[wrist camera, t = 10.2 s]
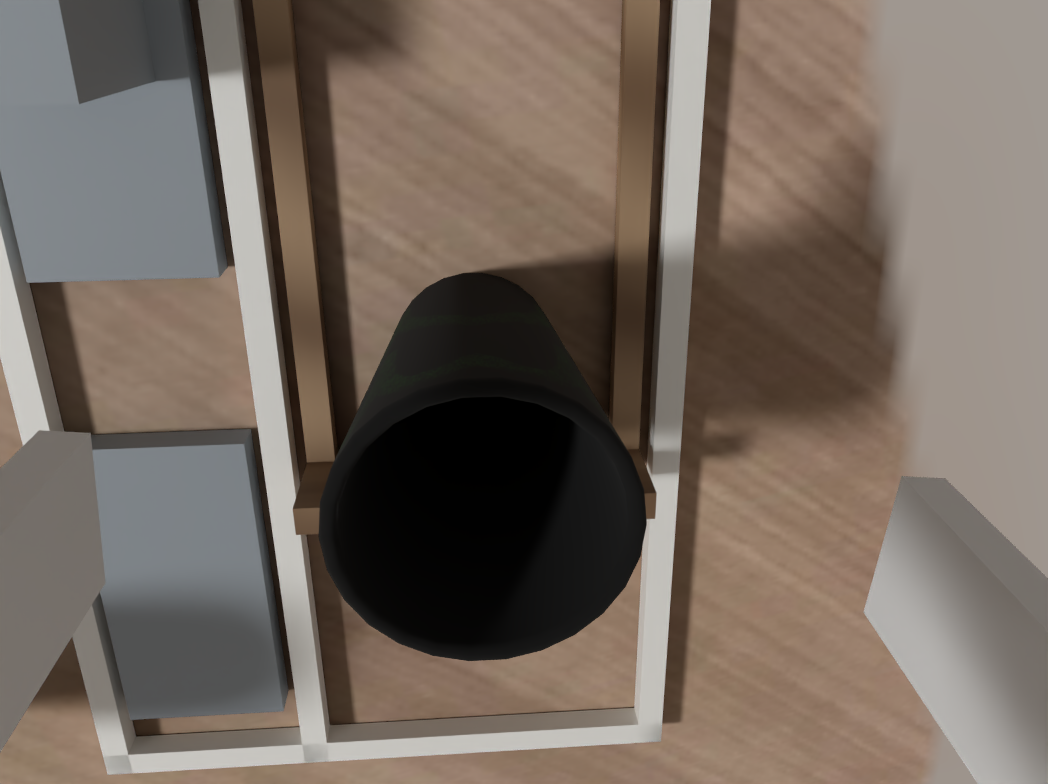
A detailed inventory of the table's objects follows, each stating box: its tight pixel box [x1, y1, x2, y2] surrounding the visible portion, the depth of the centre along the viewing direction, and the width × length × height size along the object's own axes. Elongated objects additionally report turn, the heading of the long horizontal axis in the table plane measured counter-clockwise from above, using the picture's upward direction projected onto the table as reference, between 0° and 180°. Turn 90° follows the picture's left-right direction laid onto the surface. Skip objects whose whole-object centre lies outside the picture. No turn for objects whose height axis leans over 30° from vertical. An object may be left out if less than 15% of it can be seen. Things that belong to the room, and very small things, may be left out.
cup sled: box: [252, 0, 660, 535], centre depth 24 cm, size 30×12×8 cm, turn 1°
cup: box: [319, 273, 647, 661], centre depth 27 cm, size 8×8×12 cm
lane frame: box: [0, 0, 711, 775], centre depth 32 cm, size 34×23×1 cm
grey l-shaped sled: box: [0, 0, 228, 283], centre depth 25 cm, size 10×6×7 cm, turn 0°
